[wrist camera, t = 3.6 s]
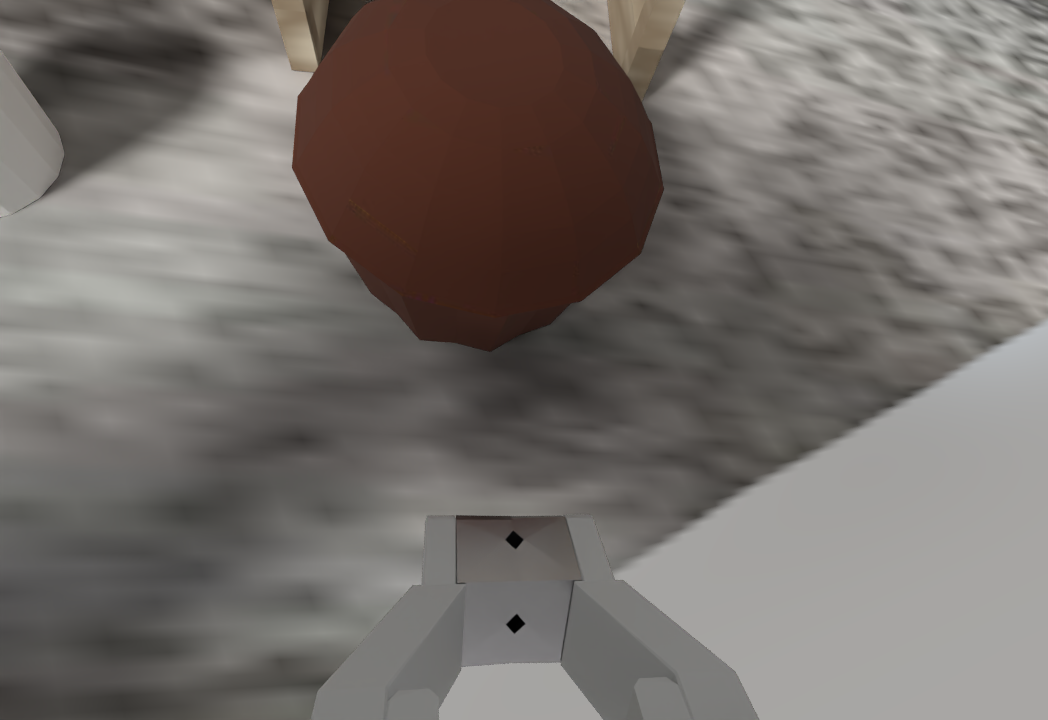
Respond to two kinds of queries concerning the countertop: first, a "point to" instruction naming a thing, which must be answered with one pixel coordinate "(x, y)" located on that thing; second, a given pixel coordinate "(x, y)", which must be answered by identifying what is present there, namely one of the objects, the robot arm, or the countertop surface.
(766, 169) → the countertop surface
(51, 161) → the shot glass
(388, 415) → the countertop surface
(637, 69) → the tunnel
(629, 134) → the muffin
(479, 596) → the robot arm
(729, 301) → the countertop surface
